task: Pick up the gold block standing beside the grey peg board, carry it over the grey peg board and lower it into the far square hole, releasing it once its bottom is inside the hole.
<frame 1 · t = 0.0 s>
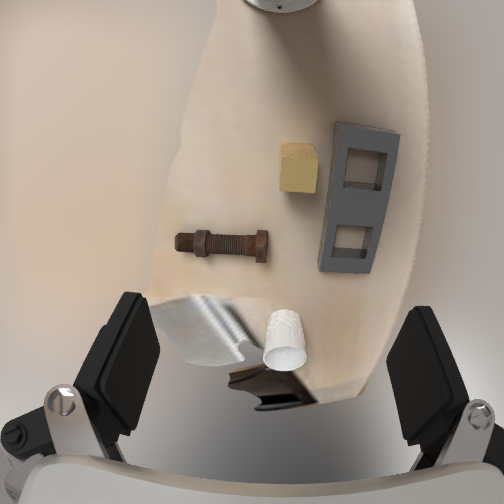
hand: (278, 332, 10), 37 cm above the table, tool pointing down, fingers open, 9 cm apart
bolt: (222, 235, 52), on the table
grey peg board: (354, 199, 46), on the table
gold block: (294, 157, 43), on the table
white cup: (284, 319, 61), on the table
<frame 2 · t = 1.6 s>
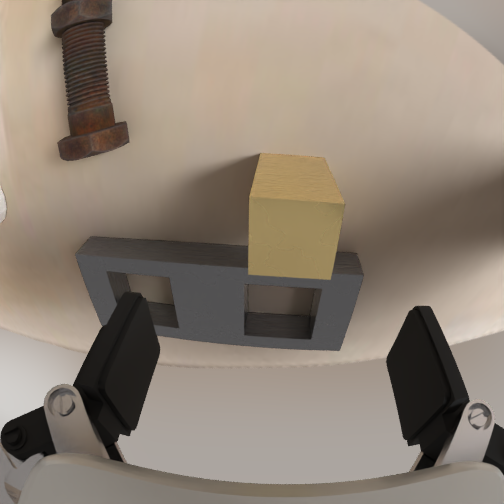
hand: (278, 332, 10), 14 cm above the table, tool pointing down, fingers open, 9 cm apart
bolt: (103, 52, 17), on the table
grey peg board: (215, 285, 28), on the table
gold block: (290, 184, 22), on the table
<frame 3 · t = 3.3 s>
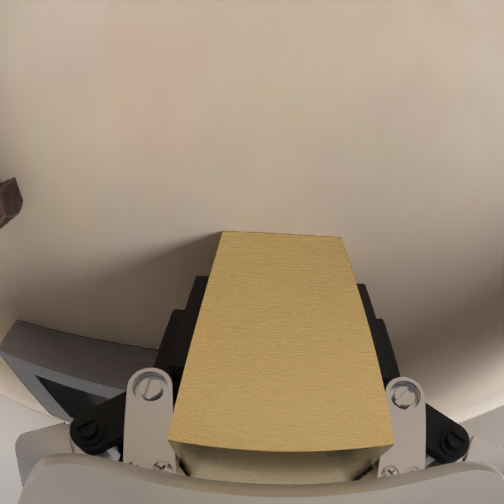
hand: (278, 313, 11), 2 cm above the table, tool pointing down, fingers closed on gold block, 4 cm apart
grey peg board: (176, 391, 18), on the table
gold block: (278, 281, 13), on the table, touching gripper
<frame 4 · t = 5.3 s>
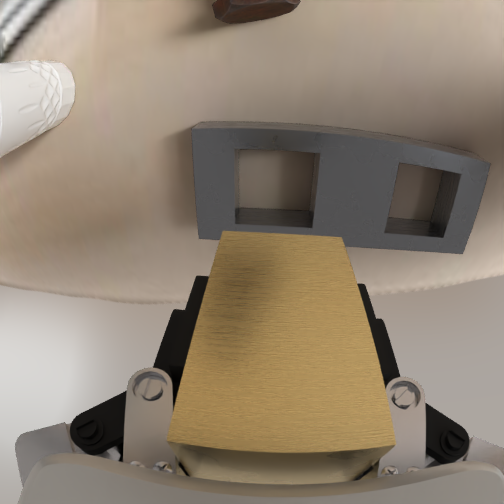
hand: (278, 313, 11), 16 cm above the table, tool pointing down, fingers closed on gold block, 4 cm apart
grey peg board: (347, 181, 24), on the table
gold block: (278, 281, 13), point 14 cm above the table, touching gripper
white cup: (51, 93, 21), on the table
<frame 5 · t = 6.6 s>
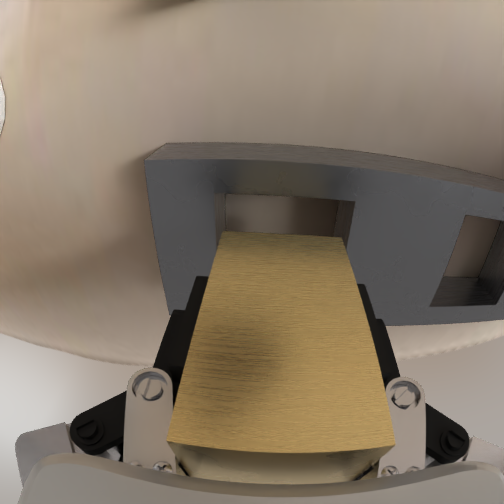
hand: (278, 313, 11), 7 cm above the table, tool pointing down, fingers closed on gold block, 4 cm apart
grey peg board: (383, 232, 16), on the table
gold block: (278, 281, 13), point 5 cm above the table, touching gripper
when the fingers open (4 cm above the table, at t = 7.5 s): gold block drops 2 cm, resting in grey peg board.
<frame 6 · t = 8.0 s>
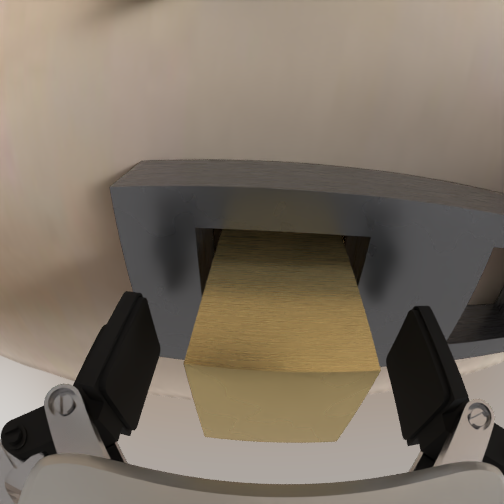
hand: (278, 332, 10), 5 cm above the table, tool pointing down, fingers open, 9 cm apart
grey peg board: (397, 262, 14), on the table
gold block: (278, 254, 14), resting in grey peg board
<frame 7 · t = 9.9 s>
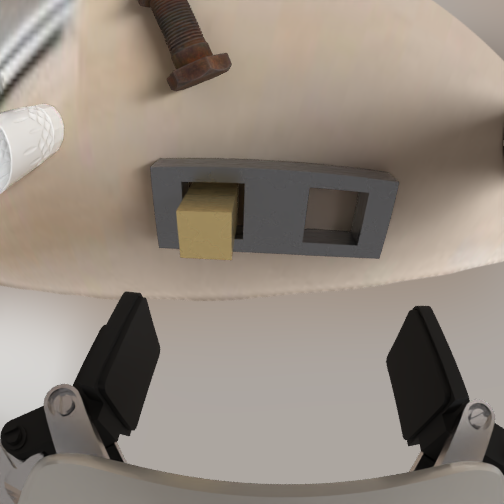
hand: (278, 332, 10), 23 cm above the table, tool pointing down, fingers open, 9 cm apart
bolt: (181, 16, 22), on the table
grey peg board: (274, 201, 32), on the table
gold block: (217, 198, 32), resting in grey peg board
white cup: (44, 130, 27), on the table
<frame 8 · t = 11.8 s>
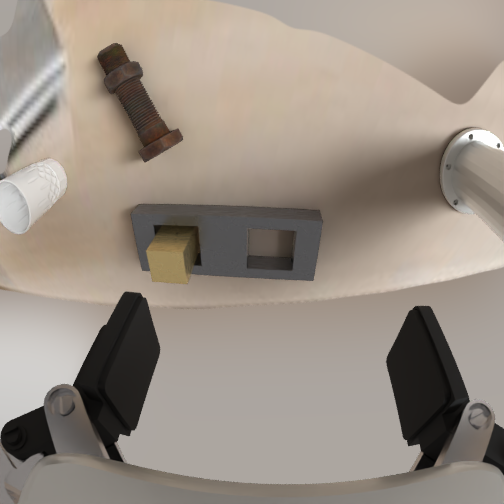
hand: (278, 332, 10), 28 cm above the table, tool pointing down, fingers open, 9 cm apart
bolt: (143, 95, 32), on the table
grey peg board: (226, 236, 41), on the table
gold block: (183, 233, 42), resting in grey peg board
white cup: (52, 178, 38), on the table
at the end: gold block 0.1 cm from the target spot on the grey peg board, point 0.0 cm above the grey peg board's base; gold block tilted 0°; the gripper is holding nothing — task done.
